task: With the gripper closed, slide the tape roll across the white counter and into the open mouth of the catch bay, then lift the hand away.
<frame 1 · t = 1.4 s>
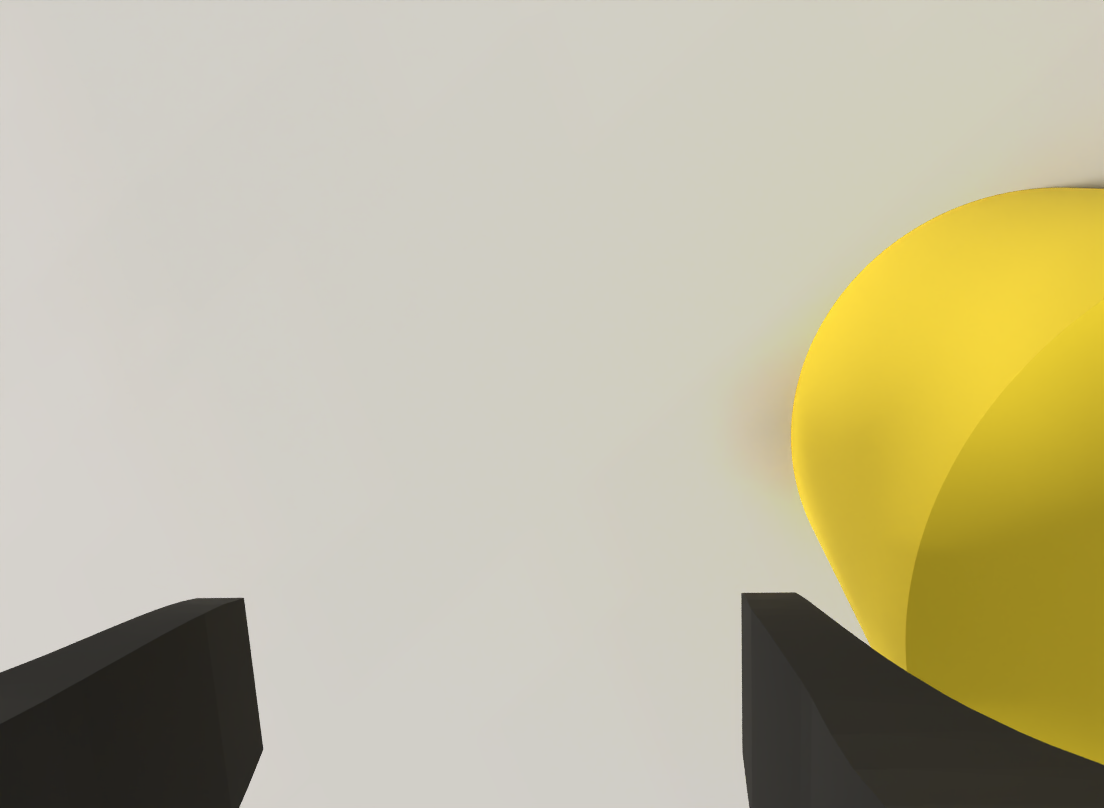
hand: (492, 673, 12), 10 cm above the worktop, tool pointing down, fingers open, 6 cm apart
tape roll: (1027, 427, 21), on the worktop
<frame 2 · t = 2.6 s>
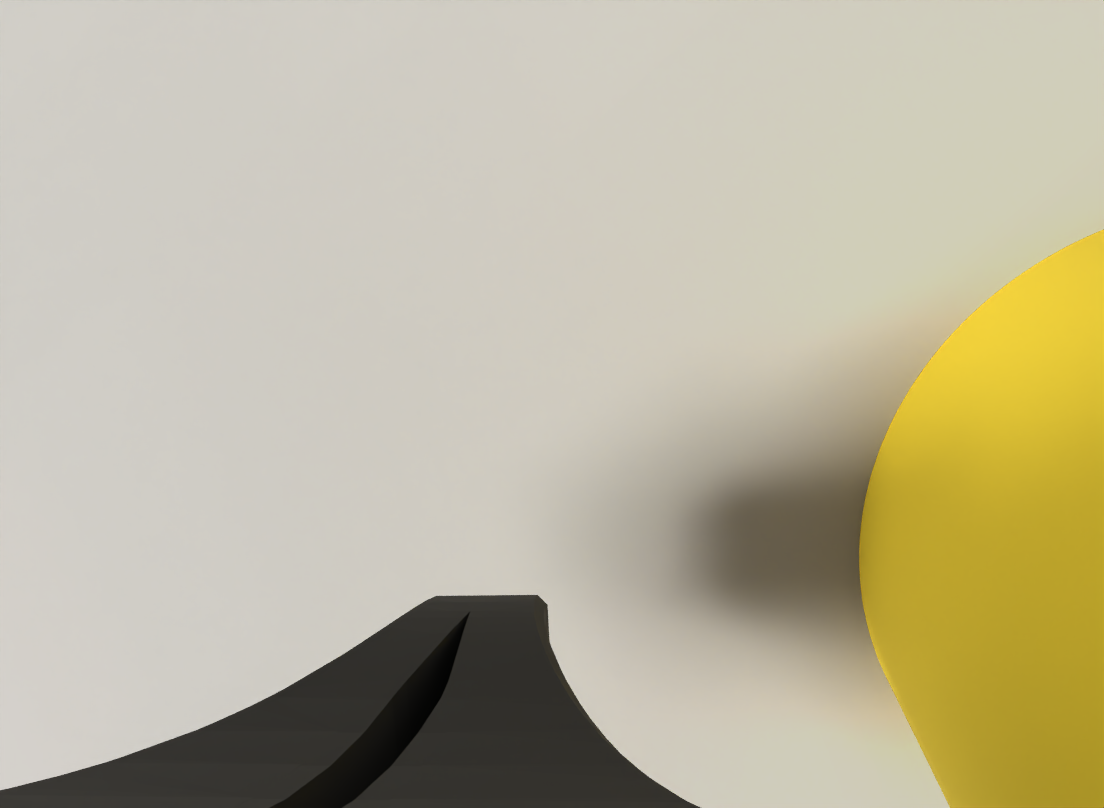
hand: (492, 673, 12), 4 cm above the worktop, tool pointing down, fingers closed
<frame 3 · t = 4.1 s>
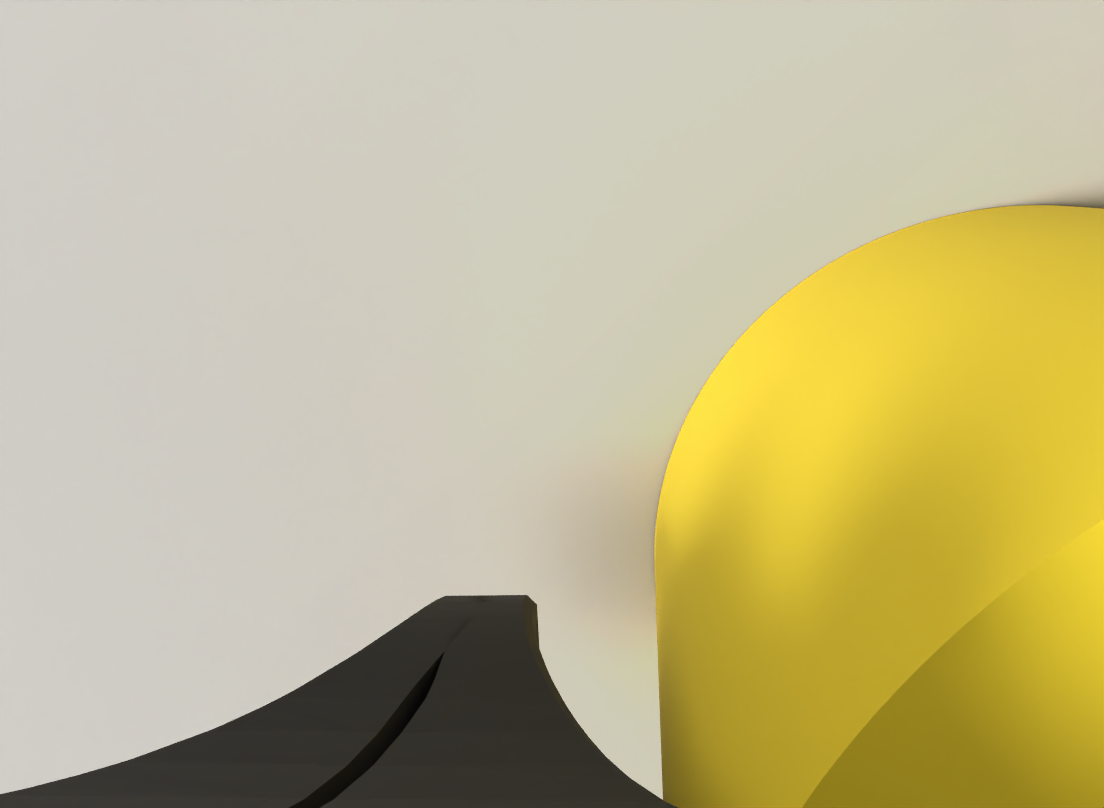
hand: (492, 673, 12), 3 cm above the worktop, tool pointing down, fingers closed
tape roll: (996, 551, 14), on the worktop, touching gripper
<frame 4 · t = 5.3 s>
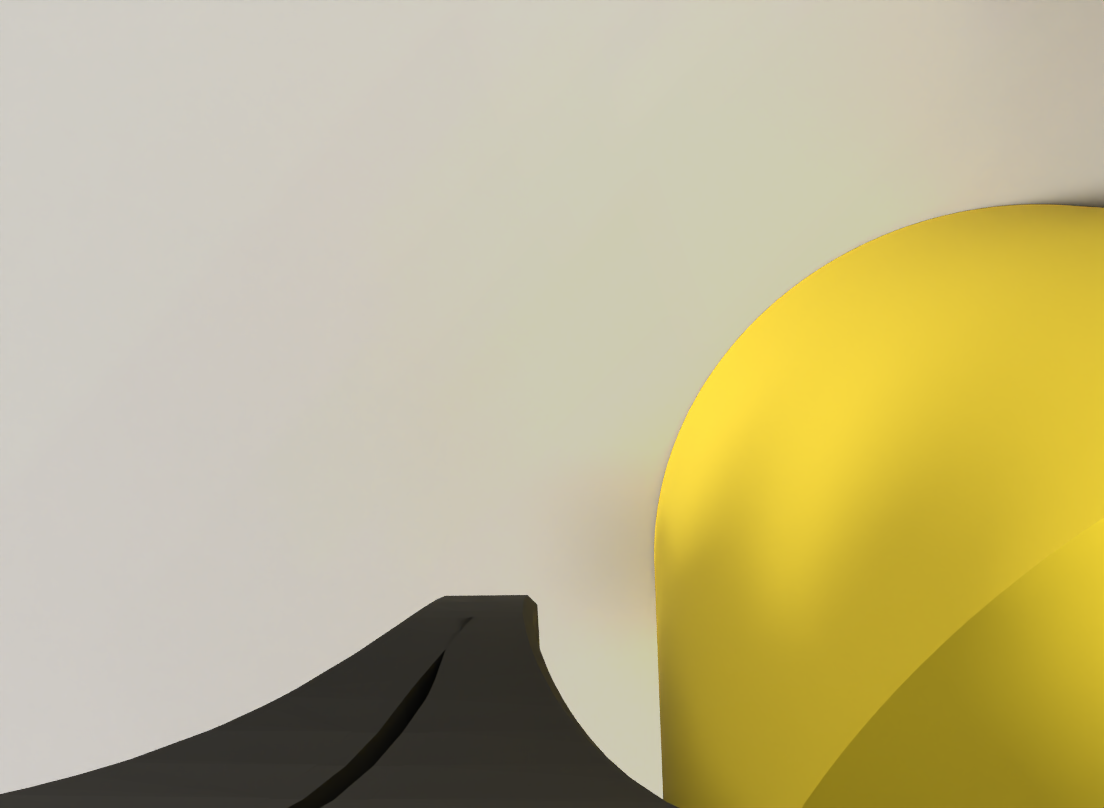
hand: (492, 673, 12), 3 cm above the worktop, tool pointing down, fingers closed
tape roll: (996, 551, 14), on the worktop, touching gripper
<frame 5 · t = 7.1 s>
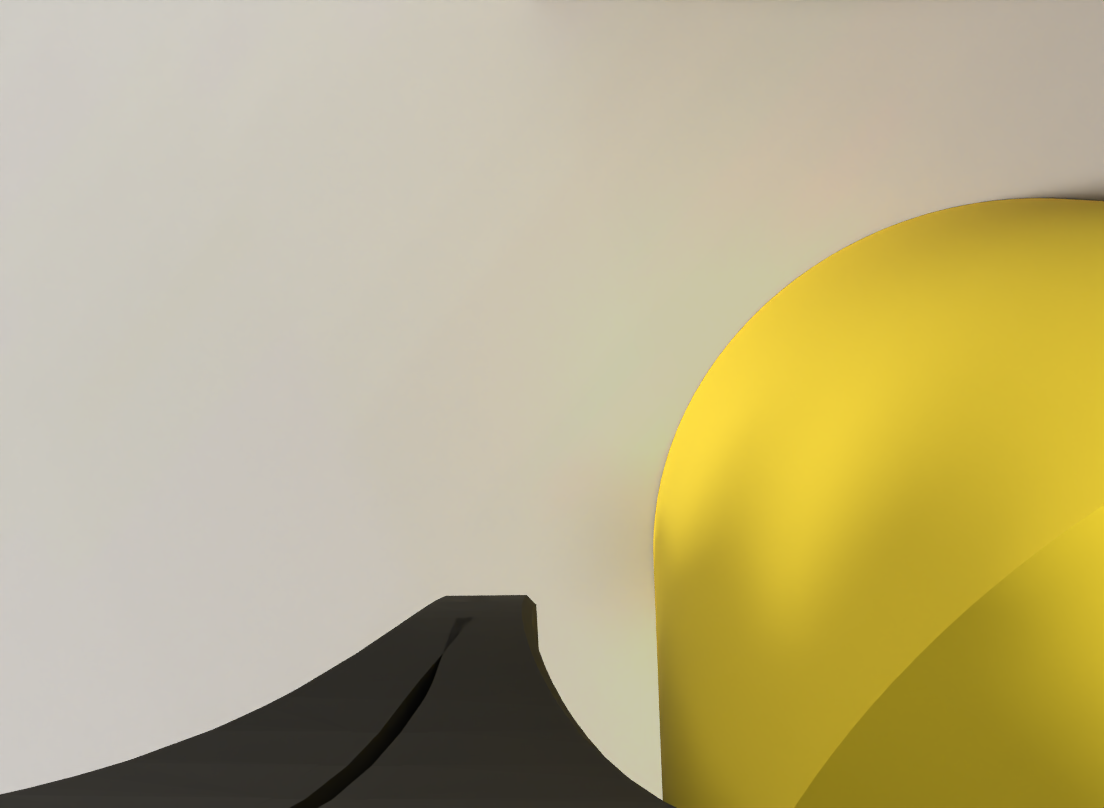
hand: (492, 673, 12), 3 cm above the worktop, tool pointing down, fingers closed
tape roll: (995, 546, 14), on the worktop, touching gripper
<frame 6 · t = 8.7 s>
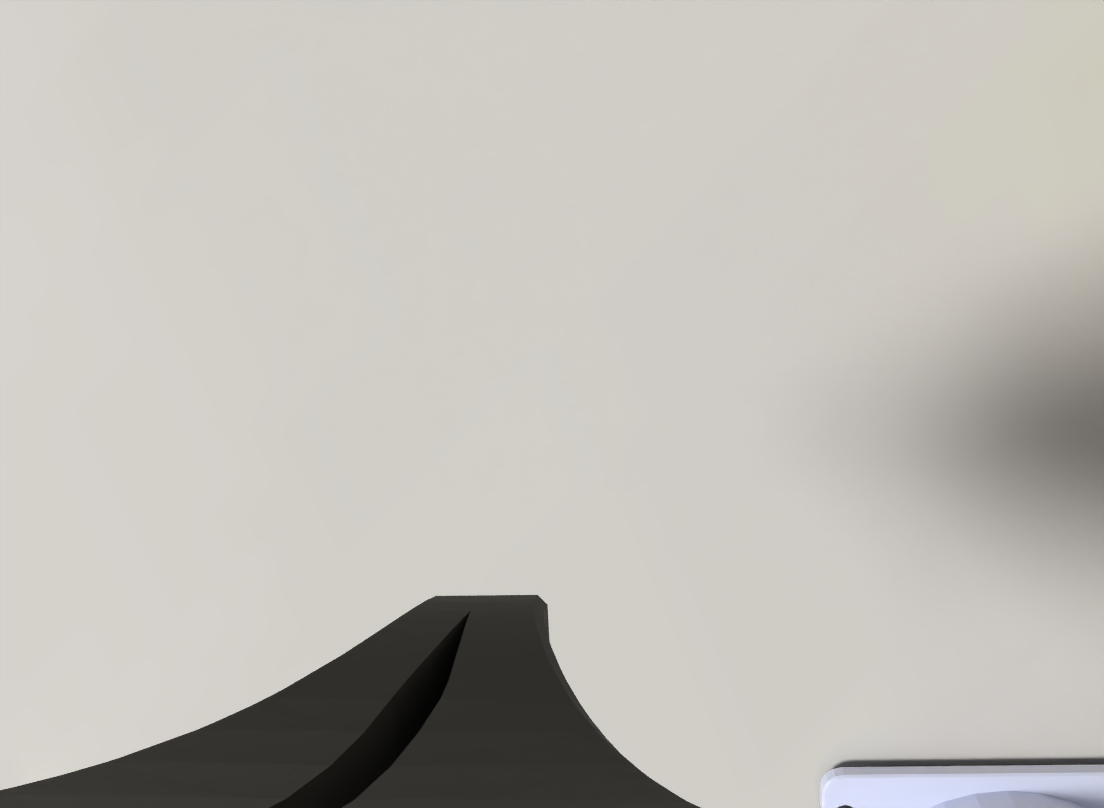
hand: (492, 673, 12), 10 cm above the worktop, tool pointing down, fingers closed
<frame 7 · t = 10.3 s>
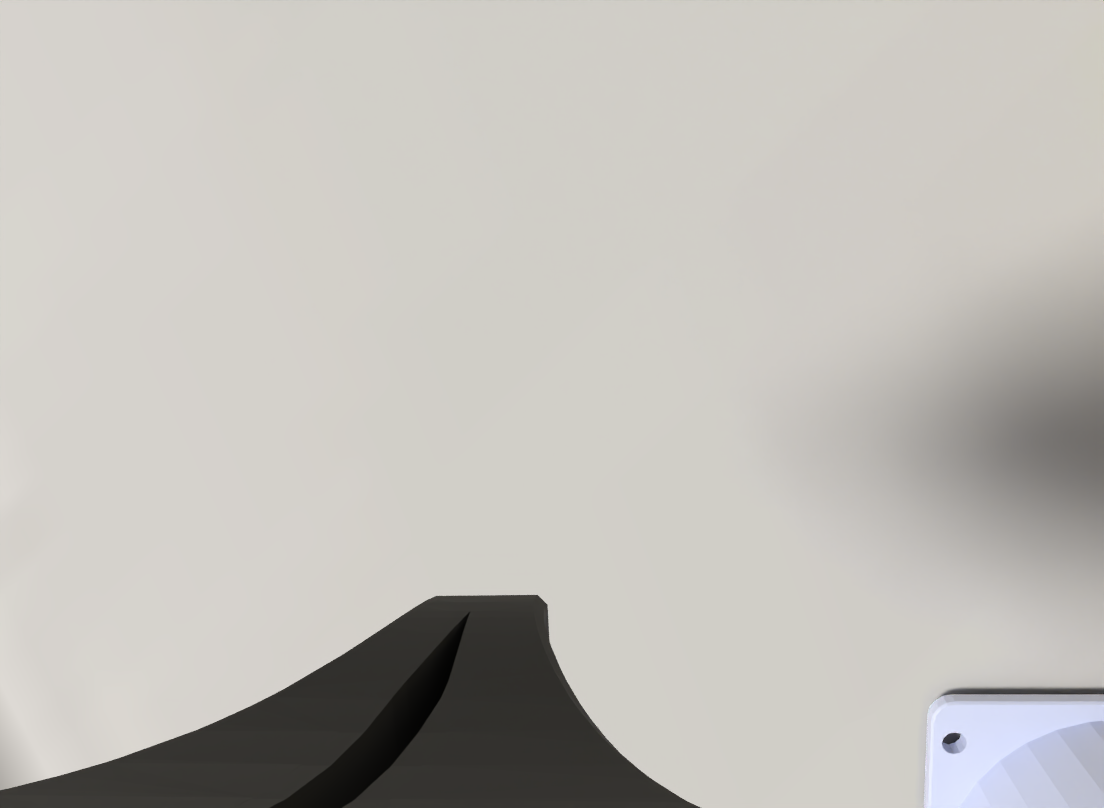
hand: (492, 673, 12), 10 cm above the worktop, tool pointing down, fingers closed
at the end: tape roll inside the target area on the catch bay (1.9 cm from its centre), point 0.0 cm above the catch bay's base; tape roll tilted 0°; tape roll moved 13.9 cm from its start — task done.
